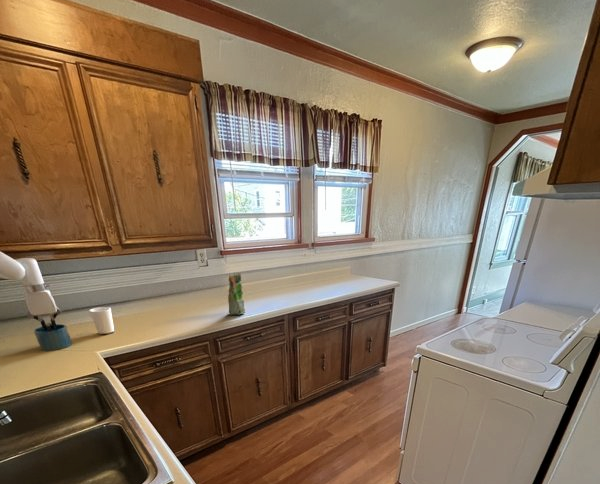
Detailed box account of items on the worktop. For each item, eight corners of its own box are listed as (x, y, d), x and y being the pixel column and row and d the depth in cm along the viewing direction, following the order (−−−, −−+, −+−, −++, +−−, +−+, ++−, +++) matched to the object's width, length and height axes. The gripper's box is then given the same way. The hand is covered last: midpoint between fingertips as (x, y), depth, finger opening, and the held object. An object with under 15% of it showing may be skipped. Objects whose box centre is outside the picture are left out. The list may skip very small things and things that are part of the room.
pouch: (243, 310, 214) (239, 271, 203) (248, 315, 205) (245, 273, 193) (226, 312, 210) (222, 272, 199) (231, 317, 200) (227, 275, 189)
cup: (91, 334, 171) (84, 310, 165) (107, 329, 179) (100, 306, 174) (105, 336, 168) (98, 312, 162) (121, 331, 176) (115, 307, 170)
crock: (40, 352, 148) (32, 333, 144) (41, 344, 157) (34, 326, 153) (72, 347, 154) (65, 329, 150) (71, 340, 163) (66, 322, 159)
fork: (53, 331, 149) (51, 325, 147) (46, 332, 147) (44, 326, 146) (54, 325, 156) (52, 320, 155) (47, 326, 155) (45, 321, 154)
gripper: (57, 285, 150) (70, 324, 158) (13, 288, 142) (29, 329, 150) (57, 287, 144) (70, 327, 152) (11, 291, 136) (28, 333, 145)
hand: (50, 328), depth 151 cm, fingers closed on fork, 2 cm apart
